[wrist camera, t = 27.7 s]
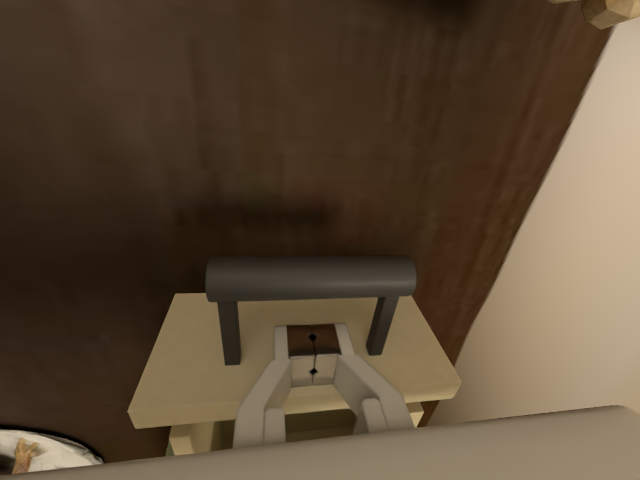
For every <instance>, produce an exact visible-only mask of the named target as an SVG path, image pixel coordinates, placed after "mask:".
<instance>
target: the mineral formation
mask: <svg viewBox="0 0 640 480" xmlns="http://www.w3.org/2000/svg"><path fill="white" fill-rule="evenodd" d="M546 1H549V2H552V3H562V2H570V1H578V0H546ZM580 2H581V8H582V12H583V16H584V19H585V20H587V21H588V22H590V23H591V24H593V25H594V26H596V27H597V28H599V29H603V28H606V27H609V26H612V25H615V24H618V23H621V22H624V21H627V20H630V19H633V18H636V17H639V16H640V0H581V1H580Z"/></svg>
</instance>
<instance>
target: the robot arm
mask: <svg viewBox="0 0 640 480" xmlns="http://www.w3.org/2000/svg"><path fill="white" fill-rule="evenodd" d="M331 384H333V386H334V387H335V388H336V390H337V391H338V392H339V394H340V395H341V397H342V398H343V399H344V401H345V402H346V403H347V405H348V406H349V407H350V408H351V410H352V411H353V412H354V414H355V415H356V416H357V417H358V418H357V421H356V425H355V428H354V432H353V435H349V436H340V437H331V438H323V439H314V440H305V441H297V442H288V443H286V434H285V413H284V409H283V408H282V406H283V404H284V402H285V400H286V398H287V396H288V394H289V392H290V390H291V388H294V387H304V386H316V385H331ZM0 480H640V413H638V412H636V411H634V410H632V409H630V408H628V407H624V406H620V405H610V406H602V407H594V408H584V409H577V410H567V411H559V412H549V413H541V414H532V415H524V416H516V417H506V418H497V419H489V420H480V421H471V422H462V423H454V424H445V425H437V426H428V427H419V428H415V426H414V423H413V421H412V418H411V416H410V413H409V411H408V408H407V406H406V403H405V400H404V398H403V395H402V394H401V393H400V392H399V391H398V390H397V389H396V388H395V387H394V386H392V385H391V384H390V383H389V382H388V381H387V380H386V379H385V378H384V377H383V376H382V375H381V374H379V373H378V372H377V371H376V370H375V369H374V368H373V367H372V366H371V365H370V364H369V363H368V362H366V361H365V360H364V359H363V358H362V357H361V356H360V355H359V354H355V351H354V348H353V345H352V341H351V338H350V334H349V331H348V327H347V324H346V323H345V322H343V323H323V324H310V325H280V326H274V360H270V362H269V363H268V364H267V366H266V367H265V369H264V370H263V372H262V373H261V375H260V376H259V378H258V379H257V381H256V382H255V383H254V385H253V386H252V388H251V389H250V391H249V392H248V394H247V395H246V397H245V398H244V399H243V401H242V402H241V404H240V405H239V407H238V408H237V411H236V420H235V430H234V439H233V449H227V450H218V451H210V452H201V453H192V454H184V455H175V456H166V457H157V458H149V459H140V460H131V461H122V462H113V463H105V464H96V465H87V466H78V467H69V468H61V469H52V470H43V471H34V472H25V473H17V474H8V475H0Z"/></svg>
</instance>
